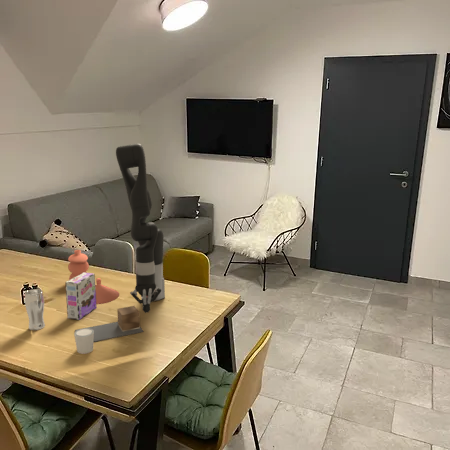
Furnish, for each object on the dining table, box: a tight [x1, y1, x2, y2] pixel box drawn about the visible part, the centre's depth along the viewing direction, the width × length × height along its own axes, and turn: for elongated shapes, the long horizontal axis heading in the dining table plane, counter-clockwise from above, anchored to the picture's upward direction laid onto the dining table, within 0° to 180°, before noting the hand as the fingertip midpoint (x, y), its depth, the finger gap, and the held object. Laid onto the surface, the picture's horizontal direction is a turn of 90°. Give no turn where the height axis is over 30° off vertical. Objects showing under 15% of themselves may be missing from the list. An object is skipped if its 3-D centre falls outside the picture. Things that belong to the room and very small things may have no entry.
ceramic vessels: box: [67, 249, 120, 305], centre depth 216 cm, size 35×21×19 cm, turn 45°
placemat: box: [74, 321, 144, 343], centre depth 177 cm, size 24×13×1 cm, turn 118°
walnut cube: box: [116, 305, 141, 332], centre depth 180 cm, size 7×7×7 cm
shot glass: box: [73, 327, 95, 355], centre depth 162 cm, size 7×7×7 cm
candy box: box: [65, 272, 98, 321], centre depth 192 cm, size 14×6×16 cm, turn 164°
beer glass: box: [24, 288, 46, 331], centre depth 179 cm, size 7×7×15 cm
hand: (146, 311), depth 183 cm, fingers closed
